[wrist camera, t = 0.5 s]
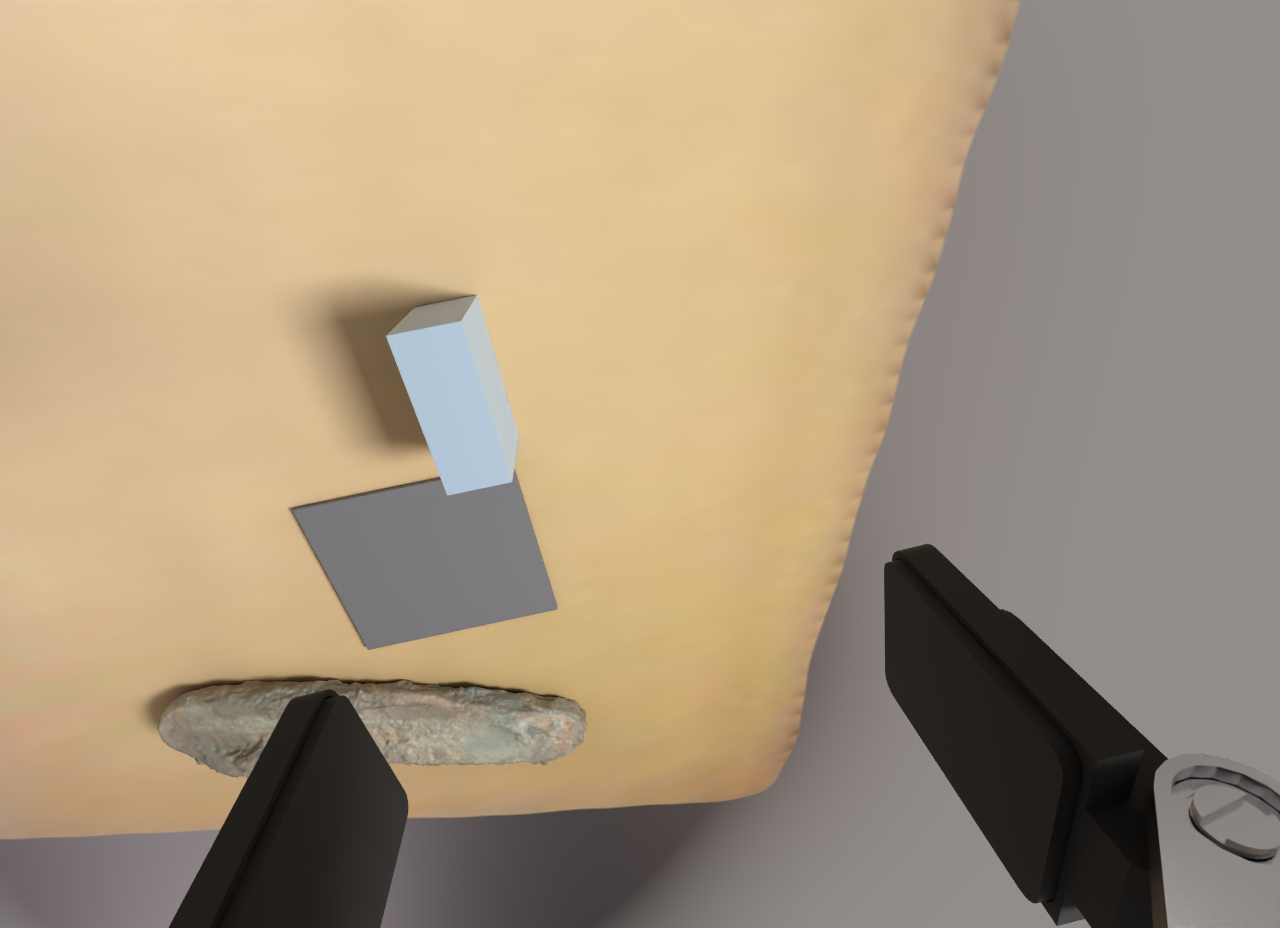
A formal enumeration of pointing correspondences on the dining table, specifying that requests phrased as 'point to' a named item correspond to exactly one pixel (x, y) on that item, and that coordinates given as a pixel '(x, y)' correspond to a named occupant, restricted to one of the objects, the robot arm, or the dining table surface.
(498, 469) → the pale blue upright box
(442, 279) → the dining table surface
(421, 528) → the mat
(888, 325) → the dining table surface
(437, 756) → the elongated rough stone
